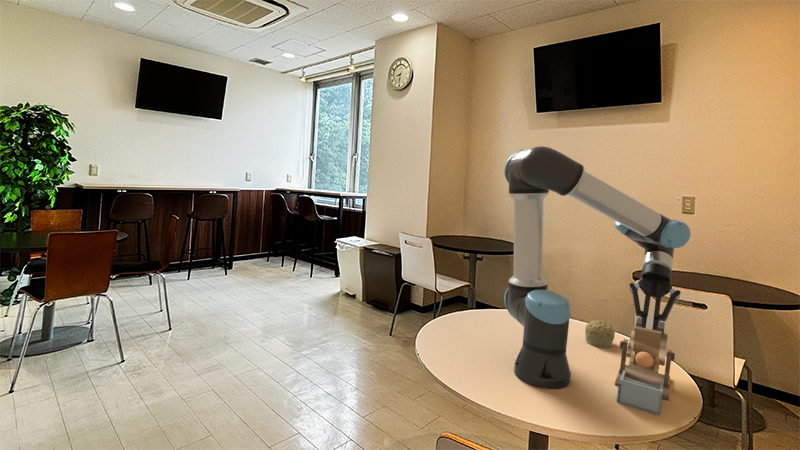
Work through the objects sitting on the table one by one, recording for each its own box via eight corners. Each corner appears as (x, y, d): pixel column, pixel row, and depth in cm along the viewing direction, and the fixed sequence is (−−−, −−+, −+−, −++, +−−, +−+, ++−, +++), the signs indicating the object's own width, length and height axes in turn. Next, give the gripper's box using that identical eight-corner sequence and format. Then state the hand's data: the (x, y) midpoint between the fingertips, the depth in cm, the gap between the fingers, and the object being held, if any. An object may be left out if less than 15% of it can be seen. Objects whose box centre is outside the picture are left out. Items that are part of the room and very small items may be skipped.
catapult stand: (620, 365, 123) (623, 332, 122) (670, 379, 116) (675, 344, 114) (613, 384, 111) (617, 348, 109) (670, 401, 103) (674, 362, 102)
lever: (632, 329, 125) (635, 302, 122) (667, 336, 120) (670, 308, 117) (623, 366, 107) (626, 336, 105) (663, 377, 102) (667, 345, 100)
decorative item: (605, 359, 137) (626, 338, 135) (582, 339, 137) (603, 318, 136) (597, 348, 146) (617, 329, 144) (575, 330, 147) (595, 310, 145)
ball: (648, 371, 105) (648, 370, 102) (632, 361, 107) (632, 361, 104) (656, 358, 105) (656, 357, 102) (640, 349, 107) (640, 347, 104)
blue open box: (621, 387, 109) (623, 366, 108) (661, 399, 104) (663, 377, 103) (616, 401, 102) (619, 379, 101) (659, 415, 96) (662, 391, 96)
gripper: (681, 280, 120) (675, 352, 108) (631, 273, 127) (620, 339, 115) (684, 265, 115) (677, 339, 103) (632, 259, 122) (620, 327, 111)
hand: (647, 339), depth 109 cm, fingers closed
